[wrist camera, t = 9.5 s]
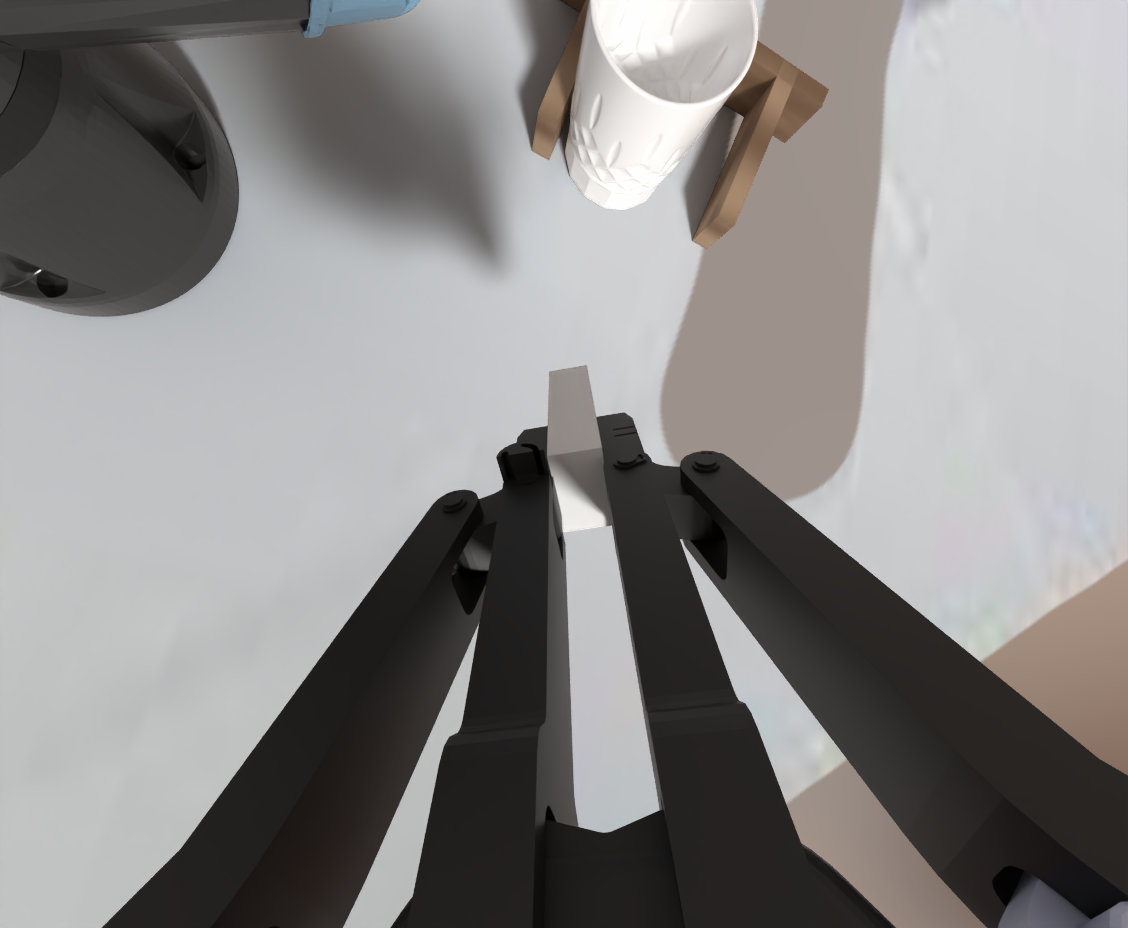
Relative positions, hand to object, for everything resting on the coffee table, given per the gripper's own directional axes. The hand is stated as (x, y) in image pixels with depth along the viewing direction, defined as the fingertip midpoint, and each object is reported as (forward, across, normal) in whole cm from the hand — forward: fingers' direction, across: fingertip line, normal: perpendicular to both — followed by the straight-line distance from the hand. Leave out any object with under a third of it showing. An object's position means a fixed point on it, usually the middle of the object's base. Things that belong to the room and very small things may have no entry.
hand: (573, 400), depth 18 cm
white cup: (+19, +5, +8) cm, 21 cm away
